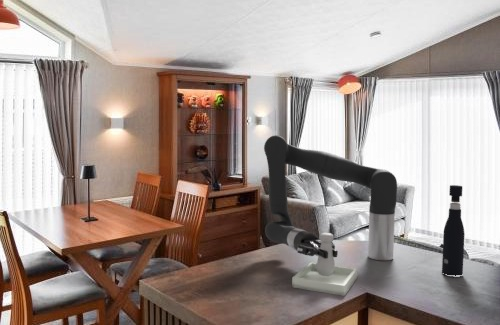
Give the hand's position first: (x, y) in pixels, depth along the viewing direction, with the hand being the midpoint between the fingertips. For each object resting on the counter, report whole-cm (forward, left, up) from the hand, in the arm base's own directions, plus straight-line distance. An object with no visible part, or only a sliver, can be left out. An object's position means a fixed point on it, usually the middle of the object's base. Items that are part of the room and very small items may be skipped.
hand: (331, 254), depth 140 cm
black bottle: (-29, +34, -10) cm, 46 cm away
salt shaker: (-2, -2, -7) cm, 8 cm away
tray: (-2, -2, -10) cm, 10 cm away
